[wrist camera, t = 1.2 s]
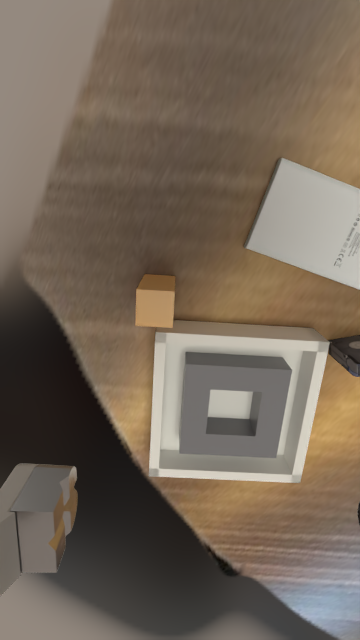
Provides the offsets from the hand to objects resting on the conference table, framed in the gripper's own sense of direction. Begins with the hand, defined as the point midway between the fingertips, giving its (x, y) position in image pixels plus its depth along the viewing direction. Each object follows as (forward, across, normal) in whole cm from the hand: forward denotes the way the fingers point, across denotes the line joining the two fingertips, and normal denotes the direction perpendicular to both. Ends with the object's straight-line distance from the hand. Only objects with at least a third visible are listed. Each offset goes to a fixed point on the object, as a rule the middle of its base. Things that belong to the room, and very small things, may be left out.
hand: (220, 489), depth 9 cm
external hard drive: (+26, -12, -8) cm, 29 cm away
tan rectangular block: (+25, +3, -1) cm, 25 cm away
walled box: (+25, -5, +10) cm, 28 cm away
